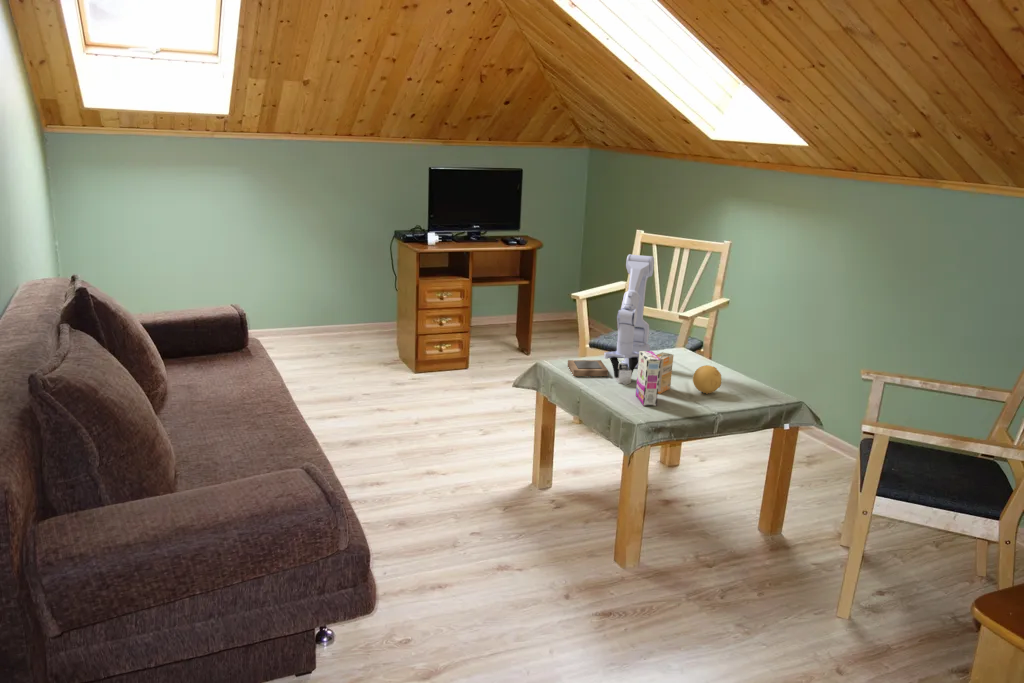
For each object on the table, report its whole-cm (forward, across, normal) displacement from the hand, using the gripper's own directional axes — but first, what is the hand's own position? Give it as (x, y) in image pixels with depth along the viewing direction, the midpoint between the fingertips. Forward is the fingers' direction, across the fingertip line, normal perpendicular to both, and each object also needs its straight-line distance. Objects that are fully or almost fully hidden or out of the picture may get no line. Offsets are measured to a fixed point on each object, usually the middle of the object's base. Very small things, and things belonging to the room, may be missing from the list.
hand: (622, 376), depth 293 cm
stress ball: (+2, +27, -14) cm, 30 cm away
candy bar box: (+2, +3, -22) cm, 22 cm away
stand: (+1, -11, +11) cm, 16 cm away
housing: (+1, 0, 0) cm, 1 cm away
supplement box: (+2, +11, -11) cm, 16 cm away
